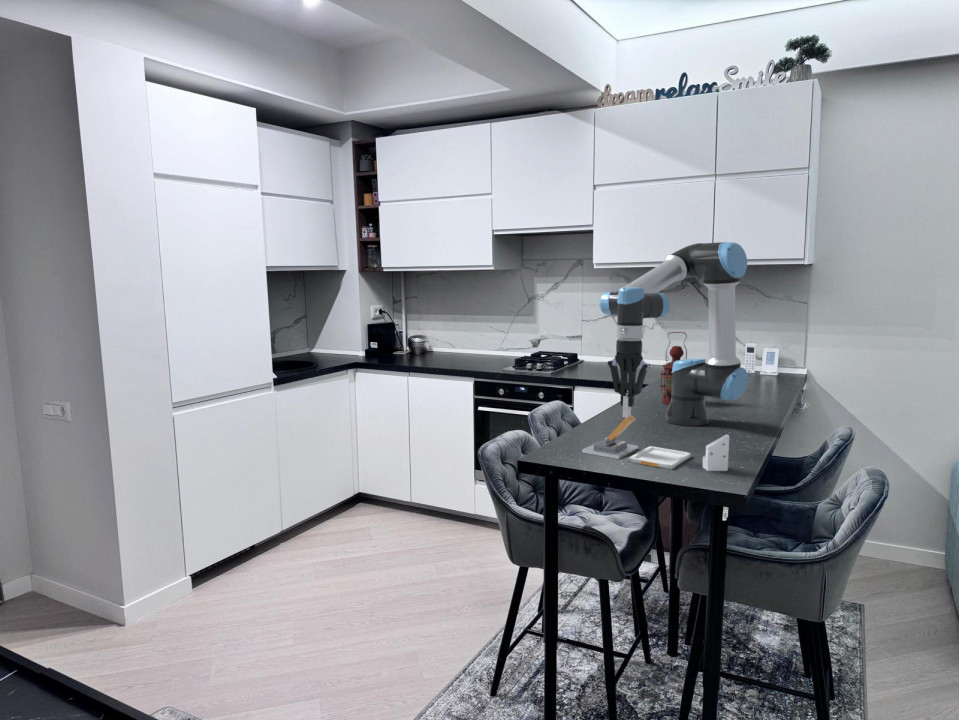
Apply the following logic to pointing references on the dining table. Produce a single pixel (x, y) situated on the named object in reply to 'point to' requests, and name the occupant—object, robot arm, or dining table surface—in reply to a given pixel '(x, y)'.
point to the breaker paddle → (619, 430)
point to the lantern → (670, 370)
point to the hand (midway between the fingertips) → (626, 416)
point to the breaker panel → (610, 449)
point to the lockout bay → (660, 457)
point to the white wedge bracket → (717, 455)
